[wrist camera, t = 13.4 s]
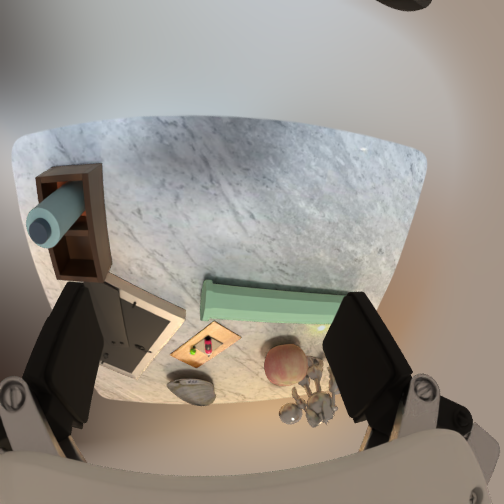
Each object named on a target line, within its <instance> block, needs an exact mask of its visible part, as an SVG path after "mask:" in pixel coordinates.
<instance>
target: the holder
mask: <svg viewBox="0 0 504 504" xmlns="http://www.w3.org/2000/svg"><path fill="white" fill-rule="evenodd" d="M35 179H36V187H37V194H38V201H39V203H41V202H42V201H43V200H44V199H46V198H47V197H48V196H49V195H51V194H52V193H53V192H54V191H56V190H57V189H58V188H60V187H61V186H62V185H64V184H65V183H66V182H68V181H82V182H83V193H84V203H85V211H84V212H83V213H82V214H81V216H80V217H79V218H78V219H77V220H76V221H75V222H74V224H73V225H72V226H71V227H70V228H69V229H68V231H67V232H66V233H65V234H64V235H63V237H62V238H61V239H60V240H59V242H58V243H57V244H56V245H55V246H54V247H52V248H48V250H49V253H50V257H51V261H52V265H53V268H54V271H55V275H56V278H57V280H67V281H82V282H97V283H98V282H99V283H104V281H105V279H106V277H107V274H108V272H109V270H110V268H111V265H112V259H111V252H110V246H109V239H108V231H107V223H106V214H105V204H104V191H103V175H102V163H96V164H80V165H67V166H56V167H51V168H50V169H48V170H47V171H45V172H43V173H42V174H40V175H38V176H37V177H35Z"/></svg>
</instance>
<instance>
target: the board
mask: <svg viewBox="0 0 504 504" xmlns="http://www.w3.org/2000/svg"><path fill="white" fill-rule="evenodd" d="M239 339H241V337H240V336H239V335H237V334H235V333H234V332H232V331H230V330H229V329H227V328H225V327H224V326H222V325H220V324H219V323H217V322H215V321H213V322H212V323H211V324H209V325H208V326H207V327H206V328H204V329H203V330H202V331H200V332H199V333H198V334H196V335H195V336H194V337H193V338H191V339H190V340H189V341H187V342H186V343H185V344H183V345H182V346H181V347H179V348H178V349H177V350H175V351H174V352H173V353H171V354H170V356H172V357H174V358H176V359H178V360H180V361H182V362H184V363H187V364H189V365H191V366H193V367H195V368H198V367H199V366H201V365H202V364H204V363H205V362H207V361H208V360H210V359H211V358H213V357H214V356H216V355H217V354H219V353H220V352H222V351H223V350H225V349H226V348H228V347H229V346H231V345H232V344H234V343H235V342H236V341H238V340H239Z"/></svg>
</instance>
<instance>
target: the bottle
mask: <svg viewBox="0 0 504 504" xmlns="http://www.w3.org/2000/svg"><path fill="white" fill-rule="evenodd" d="M84 211H85V203H84V193H83V182H82V181H68V182H66V183H65V184H64V185H62V186H61V187H60V188H58V189H57V190H56V191H54V192H53V193H52V194H51V195H49V196H48V197H47V198H46V199H44V200H43V201H42V202H41V203H39V204H38V205H37V206H36V207H35V208H33V209H32V210H31V211H30V212H29V214H28V216H27V220H26V227H27V231H28V234H29V236H30V237H31V239H32V240H33V241H34V242H35V243H36V244H37V245H38V246H40V247H43V248H52V247H54V246H55V245H56V244H57V243H58V242H59V240H60V239H61V238H62V237H63V235H64V234H65V233H66V232H67V231H68V229H69V228H70V227H71V226H72V225H73V224H74V222H75V221H76V220H77V219H78V218H79V217H80V216H81V214H82V213H83V212H84Z"/></svg>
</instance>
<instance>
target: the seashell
mask: <svg viewBox="0 0 504 504" xmlns="http://www.w3.org/2000/svg"><path fill="white" fill-rule="evenodd" d="M167 387H168V388H169V390H170V391H171V392H173V393H174V394H175V395H176V396H177V397H179V398H180V399H182V400H183V401H185V402H187V403H189V404H192V405H197V406H206V405H210V404H211V403H212V402H213V401H214V400H215V398H216V394H215V392H214V389H213V385H212V383H210V382H208V381H204V380H200V379H178V380H174V381H172V382H169V383H167Z"/></svg>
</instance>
